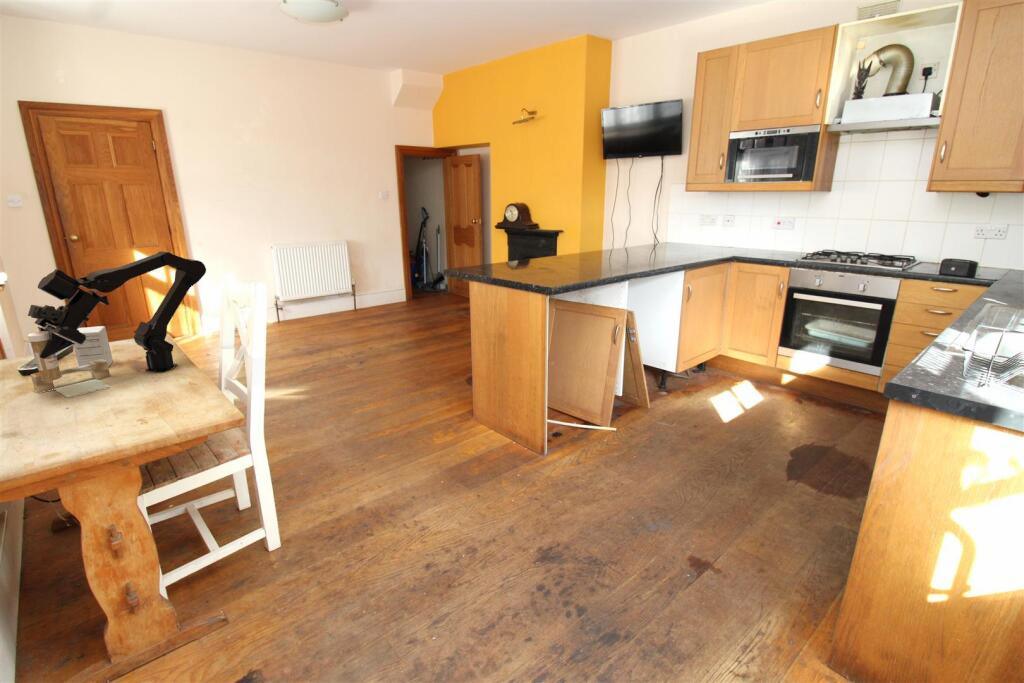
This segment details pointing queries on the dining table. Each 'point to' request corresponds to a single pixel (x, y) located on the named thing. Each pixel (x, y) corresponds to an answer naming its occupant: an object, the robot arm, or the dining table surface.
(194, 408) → the dining table surface
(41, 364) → the sprinkles bottle
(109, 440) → the dining table surface
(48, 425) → the dining table surface
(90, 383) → the pad
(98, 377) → the handrail
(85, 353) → the supplement box
